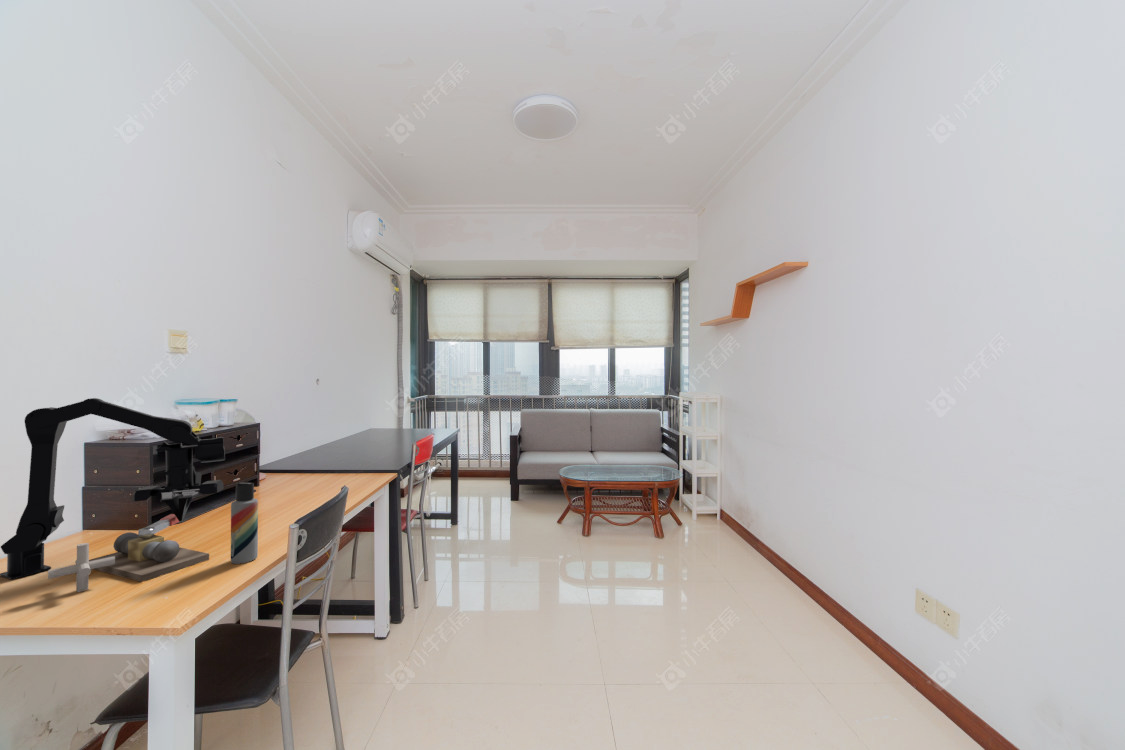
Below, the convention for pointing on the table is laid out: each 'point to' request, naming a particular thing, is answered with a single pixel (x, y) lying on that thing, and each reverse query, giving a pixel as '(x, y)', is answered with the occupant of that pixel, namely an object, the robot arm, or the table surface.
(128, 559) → the valve mount
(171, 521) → the lever
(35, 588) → the table surface
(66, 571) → the pipe connector
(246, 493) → the lotion bottle
